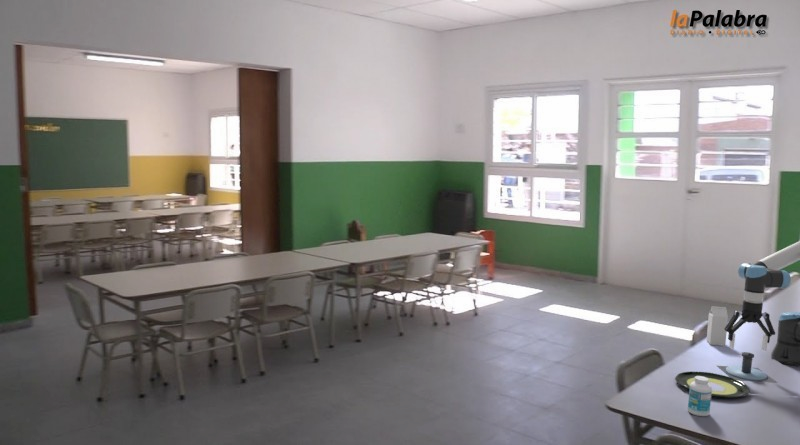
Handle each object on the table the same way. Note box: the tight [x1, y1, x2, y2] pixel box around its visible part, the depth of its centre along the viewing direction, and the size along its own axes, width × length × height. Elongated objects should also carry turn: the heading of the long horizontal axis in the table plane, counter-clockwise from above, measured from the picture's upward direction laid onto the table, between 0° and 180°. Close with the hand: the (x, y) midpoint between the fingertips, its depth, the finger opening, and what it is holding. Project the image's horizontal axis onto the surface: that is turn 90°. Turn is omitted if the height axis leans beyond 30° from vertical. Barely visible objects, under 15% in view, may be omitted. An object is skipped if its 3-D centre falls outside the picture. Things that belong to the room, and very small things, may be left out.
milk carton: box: [706, 306, 729, 347], centre depth 324 cm, size 7×7×19 cm
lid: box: [726, 351, 768, 382], centre depth 279 cm, size 16×16×9 cm
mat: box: [716, 365, 778, 384], centre depth 280 cm, size 18×18×1 cm
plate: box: [674, 371, 751, 399], centre depth 264 cm, size 28×28×2 cm
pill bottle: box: [687, 376, 713, 417], centre depth 237 cm, size 8×7×14 cm
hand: (747, 348), depth 278 cm, fingers open, 13 cm apart
